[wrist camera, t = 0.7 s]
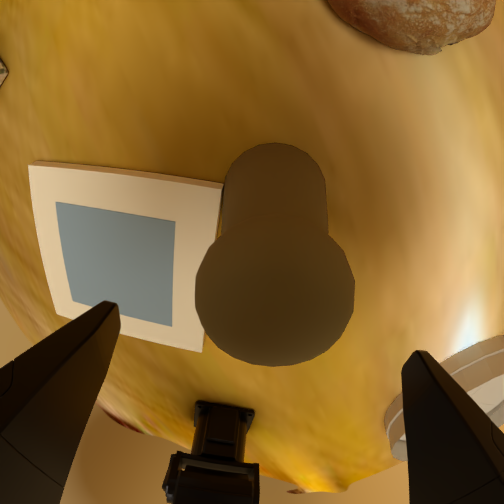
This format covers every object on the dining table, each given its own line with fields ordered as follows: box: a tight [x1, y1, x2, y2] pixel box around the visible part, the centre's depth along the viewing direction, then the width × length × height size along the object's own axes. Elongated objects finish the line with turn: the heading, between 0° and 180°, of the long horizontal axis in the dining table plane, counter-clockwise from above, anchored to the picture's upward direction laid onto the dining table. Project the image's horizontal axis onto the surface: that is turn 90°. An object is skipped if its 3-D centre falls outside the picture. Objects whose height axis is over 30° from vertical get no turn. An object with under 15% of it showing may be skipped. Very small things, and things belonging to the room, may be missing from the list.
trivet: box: [28, 161, 224, 353], centre depth 21 cm, size 14×14×1 cm
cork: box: [195, 143, 355, 367], centre depth 13 cm, size 6×6×11 cm
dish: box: [384, 335, 504, 461], centre depth 27 cm, size 22×22×5 cm
